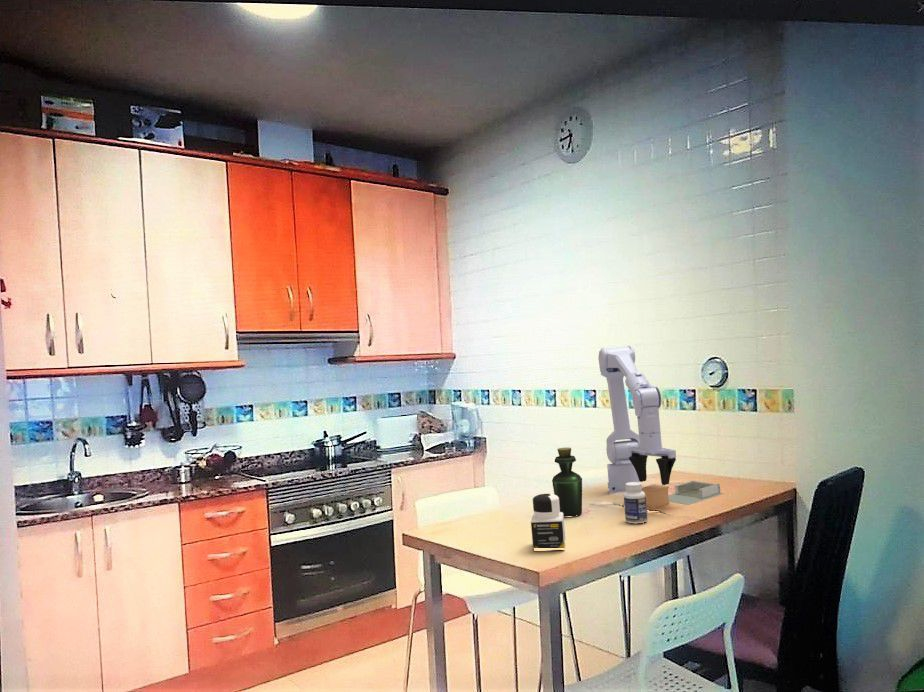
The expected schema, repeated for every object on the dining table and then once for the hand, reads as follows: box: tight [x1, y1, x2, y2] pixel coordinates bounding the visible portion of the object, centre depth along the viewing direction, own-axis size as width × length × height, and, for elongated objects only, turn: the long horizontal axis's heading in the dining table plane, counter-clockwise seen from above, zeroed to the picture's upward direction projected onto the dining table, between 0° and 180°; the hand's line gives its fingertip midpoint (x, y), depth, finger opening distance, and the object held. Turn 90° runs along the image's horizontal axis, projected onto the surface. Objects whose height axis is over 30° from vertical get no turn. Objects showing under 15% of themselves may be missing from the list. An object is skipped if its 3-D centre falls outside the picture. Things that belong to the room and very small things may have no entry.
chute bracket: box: [674, 480, 721, 499], centre depth 189 cm, size 8×9×2 cm
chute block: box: [641, 483, 670, 512], centre depth 181 cm, size 6×5×6 cm
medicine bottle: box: [530, 493, 567, 549], centre depth 155 cm, size 7×7×12 cm
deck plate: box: [668, 492, 725, 506], centre depth 187 cm, size 16×11×1 cm
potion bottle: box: [551, 446, 583, 517], centre depth 183 cm, size 8×8×18 cm
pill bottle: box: [623, 482, 648, 525], centre depth 170 cm, size 5×5×10 cm
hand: (654, 482), depth 181 cm, fingers open, 7 cm apart
